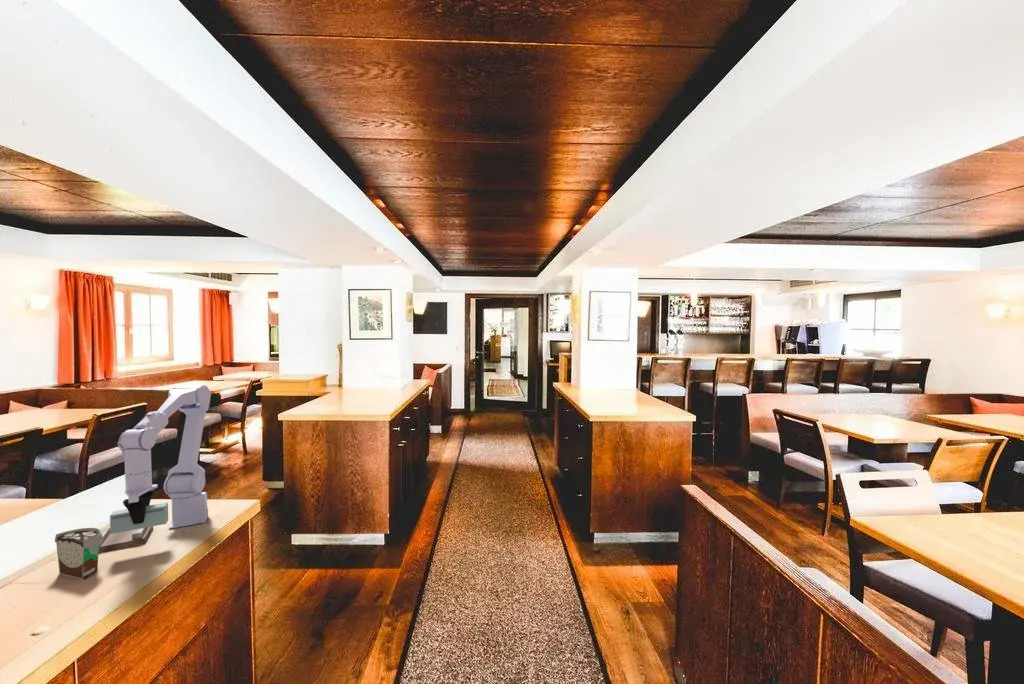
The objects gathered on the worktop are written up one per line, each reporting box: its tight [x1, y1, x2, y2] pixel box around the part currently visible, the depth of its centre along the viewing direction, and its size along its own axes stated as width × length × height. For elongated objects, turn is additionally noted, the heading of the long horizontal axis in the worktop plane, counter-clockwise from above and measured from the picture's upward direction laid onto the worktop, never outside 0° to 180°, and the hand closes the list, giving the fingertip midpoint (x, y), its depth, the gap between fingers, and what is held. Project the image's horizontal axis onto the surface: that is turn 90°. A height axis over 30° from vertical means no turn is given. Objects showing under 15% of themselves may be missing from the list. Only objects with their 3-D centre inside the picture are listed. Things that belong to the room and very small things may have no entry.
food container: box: [54, 527, 103, 580], centre depth 116 cm, size 12×6×10 cm, turn 71°
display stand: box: [99, 526, 154, 553], centre depth 133 cm, size 13×12×3 cm
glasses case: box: [109, 501, 169, 534], centre depth 126 cm, size 12×4×5 cm, turn 120°
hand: (140, 520), depth 127 cm, fingers closed on glasses case, 4 cm apart
